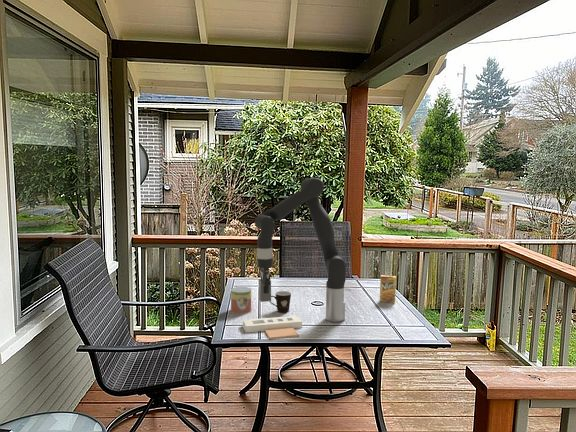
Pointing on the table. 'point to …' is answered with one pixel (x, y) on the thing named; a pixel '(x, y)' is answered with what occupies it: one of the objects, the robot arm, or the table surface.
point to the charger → (263, 296)
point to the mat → (281, 333)
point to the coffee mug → (282, 301)
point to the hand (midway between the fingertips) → (265, 291)
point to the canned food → (241, 300)
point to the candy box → (387, 288)
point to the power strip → (271, 323)
